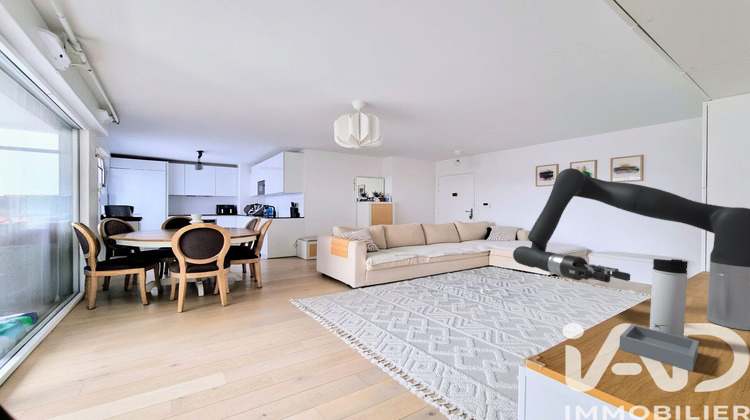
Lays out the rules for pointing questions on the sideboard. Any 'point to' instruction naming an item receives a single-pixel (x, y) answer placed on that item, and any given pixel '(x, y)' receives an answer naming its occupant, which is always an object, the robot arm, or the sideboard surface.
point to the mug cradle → (660, 346)
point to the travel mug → (668, 296)
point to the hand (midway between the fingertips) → (619, 278)
